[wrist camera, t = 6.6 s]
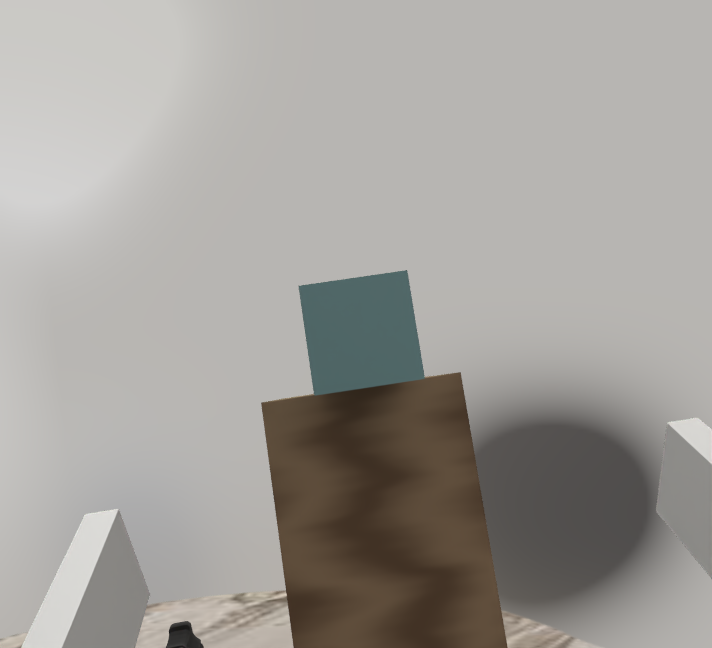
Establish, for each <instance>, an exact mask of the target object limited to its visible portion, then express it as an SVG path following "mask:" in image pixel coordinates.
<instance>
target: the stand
mask: <svg viewBox="0 0 712 648" xmlns="http://www.w3.org/2000/svg"><path fill="white" fill-rule="evenodd" d="M261 404H262V412H263V419H264V426H265V434H266V442H267V449H268V457H269V464H270V472H271V480H272V487H273V495H274V502H275V510H276V517H277V524H278V532H279V540H280V547H281V553H282V554H281V555H282V562H283V570H284V578H285V585H286V593H287V600H288V608H289V615H290V623H291V630H292V638H293V645H294V648H507V642H506V636H505V630H504V624H503V619H502V613H501V607H500V601H499V595H498V589H497V583H496V578H495V572H494V566H493V560H492V554H491V548H490V542H489V537H488V531H487V525H486V519H485V514H484V507H483V501H482V496H481V490H480V484H479V478H478V472H477V466H476V460H475V455H474V449H473V443H472V437H471V431H470V425H469V419H468V414H467V409H466V402H465V396H464V390H463V385H462V379H461V373H452V374H444V375H437V376H429V377H425V379H421V380H414V381H407V382H401V383H394V384H388V385H381V386H375V387H368V388H362V389H355V390H349V391H342V392H335V393H329V394H322V395H316V396H314V394H311V395H305V396H298V397H291V398H285V399H279V400H274V401H268V402H263V403H261Z"/></svg>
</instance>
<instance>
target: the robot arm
mask: <svg viewBox="0 0 712 648" xmlns="http://www.w3.org/2000/svg"><path fill="white" fill-rule="evenodd" d="M656 512H657V513H658V514H659V515H660V517H661V518H662V519H663V520H664V522H665V523H666V524H667V525H668V526H669V528H670V529H671V530H672V531H673V532H674V534H675V535H676V536H677V537H678V538H679V540H680V541H681V542H682V543H683V544H684V546H685V547H686V548H687V549H688V550H689V552H690V553H691V554H692V555H693V557H694V558H695V559H696V560H697V561H698V563H699V564H700V565H701V566H702V568H703V569H704V570H705V571H706V572H707V574H708V575H709V576H710V577H711V578H712V430H711V429H710V428H709V427H708V426H707V425H706V424H704V423H703V422H702V421H701V420H700V419H699V418H692V419H687V420H680V421H673V422H668V423H667V426H666V434H665V442H664V451H663V459H662V467H661V475H660V483H659V490H658V499H657V507H656ZM149 596H150V593H149V590H148V587H147V585H146V582H145V579H144V576H143V574H142V571H141V568H140V566H139V563H138V560H137V557H136V555H135V552H134V550H133V547H132V544H131V541H130V539H129V536H128V533H127V531H126V528H125V525H124V522H123V520H122V517H121V514H120V511H119V509H115V510H108V511H102V512H96V513H89V514H85V516H84V518H83V520H82V522H81V524H80V526H79V528H78V531H77V532H76V535H75V537H74V539H73V541H72V543H71V545H70V547H69V549H68V551H67V553H66V555H65V557H64V560H63V562H62V564H61V566H60V568H59V570H58V572H57V574H56V576H55V578H54V581H53V582H52V585H51V587H50V589H49V591H48V593H47V595H46V597H45V599H44V601H43V603H42V605H41V608H40V610H39V612H38V614H37V616H36V618H35V620H34V622H33V624H32V626H31V628H30V630H29V633H28V635H27V637H26V639H25V641H24V643H23V645H22V647H21V648H135V645H136V642H137V638H138V635H139V631H140V628H141V624H142V621H143V617H144V613H145V610H146V606H147V603H148V599H149Z"/></svg>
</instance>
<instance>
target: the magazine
mask: <svg viewBox="0 0 712 648" xmlns="http://www.w3.org/2000/svg"><path fill="white" fill-rule="evenodd" d="M166 648H204V647H203V645H202V644H201V640H200V639H198V638H197V637H196V636H195V635H194V634H193V631H192V627H191V623H190V622H188V621H184V622H179V623H174V624H172V625H171V627H170V629H169V640H168V643H167V646H166Z"/></svg>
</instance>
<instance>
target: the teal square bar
mask: <svg viewBox="0 0 712 648" xmlns="http://www.w3.org/2000/svg"><path fill="white" fill-rule="evenodd" d="M299 292H300V299H301V306H302V313H303V320H304V327H305V334H306V341H307V348H308V355H309V361H310V369H311V376H312V383H313V390H314V396H316V395H322V394H329V393H335V392H342V391H349V390H355V389H362V388H368V387H375V386H381V385H388V384H394V383H401V382H407V381H414V380H421V379H425V377H424V370H423V364H422V359H421V352H420V346H419V340H418V334H417V329H416V323H415V316H414V310H413V304H412V297H411V291H410V286H409V279H408V273H407V270H406V271H399V272H393V273H385V274H379V275H371V276H364V277H358V278H350V279H345V280H337V281H330V282H323V283H316V284H309V285H302V286H299Z"/></svg>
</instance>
